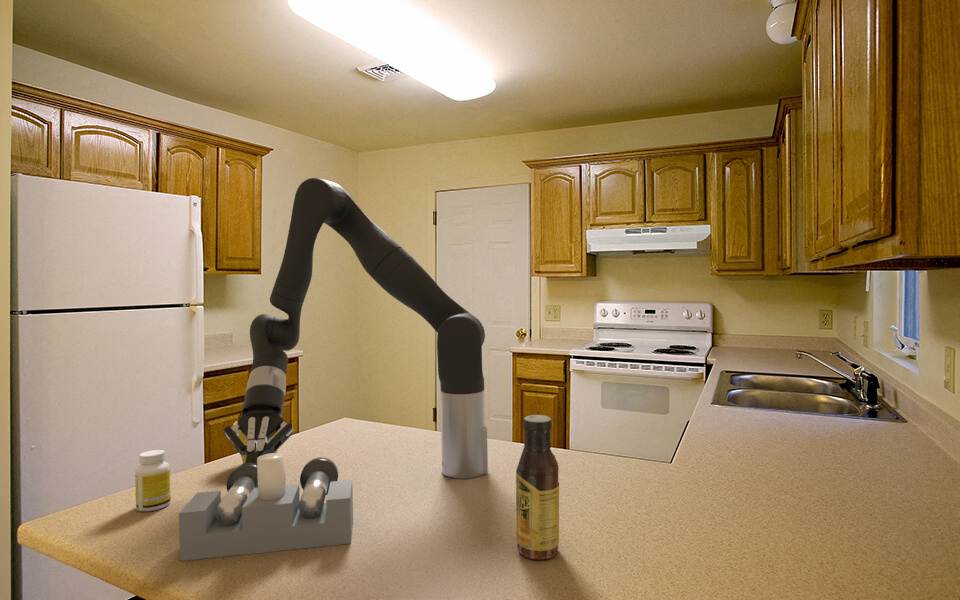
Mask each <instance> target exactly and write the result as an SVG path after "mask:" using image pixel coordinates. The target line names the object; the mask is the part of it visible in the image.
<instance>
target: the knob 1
mask: <svg viewBox="0 0 960 600" xmlns="http://www.w3.org/2000/svg"><path fill="white" fill-rule="evenodd" d="M254 488H258V472H257V464H256V463H244V464H243V463H242V464H240V465H237V467H235V468H234V469H233V470H232V472H231V473H230V474H229V476H228V478H227V480H226V491H227V493H226V494H225V495H224V497H222V498H221V502H220V503H219V505H218V506H217V508H216V510H215V518H216V520H217V521H218V522H219V523H221V524H223V525H230V524H233V523H235V522H236V521H237V520H238V518H239V517H240V515H241V513H242V506H243V505H244V503H245V502H246V500H247V498H248V497H249V495H250V493H251V492H252V490H253V489H254Z"/></svg>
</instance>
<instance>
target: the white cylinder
mask: <svg viewBox="0 0 960 600" xmlns="http://www.w3.org/2000/svg"><path fill="white" fill-rule="evenodd" d="M257 472H258V498H259V499H260V500H274V499H278V498H281V497H283V496H284V495H285V494H286V486H285V485H286V455H285V454H284V453H281V452H277V453H270V454H265V455H262V456H259V457H258V458H257Z"/></svg>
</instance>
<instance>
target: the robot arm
mask: <svg viewBox="0 0 960 600" xmlns="http://www.w3.org/2000/svg"><path fill="white" fill-rule="evenodd" d="M296 189H297V190H296V192H295V194H294V198H293V204H292V211H291V216H290V223H289V227H288V228H289V229H288V234H287V237H286V244H285V248H284V252H283V257H282V260H281V263H280V268H279V271H278V274H277V276H276V278H275V279H276V280H275V281H274V284H273V287H272V290H271V292H270V293H271V294H270V295H269V296H270V297H269V303H270V305H271V306H273V307H274V308H275V309H278V310H279V311H282V312H283V313H285V314H286V315H287V316H288V318H284V317H279V316H275V315H272V314H266V313H263V314H259V315H257V316H255V318H253V320H252V322H251V323H250V326H249V327H250V328H249V337H250V338H249V341H250V344H251V345H250V346H251V349H252V364H251V370H250V375H249V378H248V380H247V384H246V389H245V395H244V399H243V405H242V410H241V415H240V416H239V418H238V419H237V420H236V421H237V424H236V425H234V426H233V425H231V426H229V425H228V426H226V427H224V433H225V435H226V438H227V439H228V441H229V442H230V443H231V444H232V445H233V447H234V448H235V450H236V451H237V452H238V453H239V455H240V456H241V455H247V456H246V462H245V463H256V464H257V458H258V457H259V456H262V455H265V454H268V453H274V452H275V451H276V450H277V449H278V450H279V449H280V447H282V446H283V445H284V443H286V442H287V440H289V438H290V437H291V436H292V435H293V434H294V427H293V424H292V423H290V422H289V423H287V422H285V420H284V417H283V412H284V404H285V398H286V397H285V396H286V392H287V390H286V388H287V372H288V365H289V357H288V355H287V353H286V352H288V351H292V350H293V349H294V348H296V346H297V345H298V343H299V340H300V336H301V335H300V334H301V314H302V310H303V309H302V308H303V304H304V301H305V300H306V296H307V293H308V291H309V287H310V284H311V282H312V281H311V280H312V277H313V262H314V260H313V258H314V248H315V244H316V240H317V238H318V237H317V236H319V235H318V234H319V232H320V230H321V229H322V226H323V224H326V225H327V226H329V227H330V228H331V229H332V230H333V231H335V232H336V233H337V234H338V235H339V236H340V237H342V238H343V239H344V240H345V241H346V243H348V244H349V246H350V247H351V249H352V250H353V252H354V254H355V256H356V257H357V259H358V261H359V262H360V264H361V266H362V268H363V269H364V270H365V272H366V273H367V274H368V275H369V276H370V277H371V278H372V280H374V282H375V283H377V284H378V285H379V286H380V287H381V288H382V289H383V290H384V291H385V292H386V293H388V294H389V296H391V297H393V298H394V299H395V300H397V301H399V303H401V304H403V305H404V306H406V307H407V308H409V309H410V310H412V311H414V312H415V313H417V315H419V316H421V317H422V318H423V319H424V320H425V321H426V322H427V323H428V324H429V325H430V326H431V327H432V329H433V330H434V331H435V332H436V333H437V336H436V352H437V356H436V357H437V375H438V378H439V385H440V386H439V387H440V423H441V425H440V427H441V428H440V431H441V439H440V440H441V471H442V474H443V475H444V476H446V477H447V478H448V477H450V478H454V479H471V478H476V477H480V476H482V475H488V474H489V467H488V466H489V463H488V459H489V458H488V455H489V453H488V452H489V451H488V428H487V427H486V422H485V421H486V418H485V416H486V415H485V413H486V412H485V411H486V410H485V407H486V406H485V377H484V373H483V372H484V371H483V351H482V350H483V347H482V346H483V345H484V343H485V339H486V333H485V328H484V326H483V324H482V322H481V321H480V320H479V319H478V318H477V317H476V316H474V315H473V314H472V313H471V312H469V311H467V309H466V308H464V307H462V305H460V304H459V303H457V302H456V301H455V300H454V299H452V298H451V296H449V295H448V294H447V293H446V292H445V291H444V290H443V289H442V288H441V287H440V286H439V284H438V283H437V282H436V281H435V280H434V279H433V277H431V275H430V274H429V273H428V272H427V271H426V270H425V269H424V267H422V266H421V265H420V264H419V262H417V261H416V259H414V257H413V256H412V255H411V254H410V253H409V252H408V251H406V250H405V249H404V248H403V247H402V245H400V244H399V243H398V242H397V241H396V240H395V239H393V238H392V237H391V236H390V235H389V234H388V233H387V232H386V231H385V230H383V228H381V227H380V226H379V225H377V224H376V223H375V222H374V221H372V219H370V218H369V217H368V215H367V214H366V213H365V212H364V211H363V210H362V208H360V206H359V205H358V204H357V203H356V201H354V199H353V198H352V197H351V195H350V194H349V193H348V192H347V191H346V189H344V188H343V186H341V185H340V184H338V183H336V182H334V181H331V180H326V179H324V178H319V177H311V178H307V179H305V180H304V181H302V182H301V183H300V184H299V185H298V187H297V188H296ZM239 430H241V431H242V432H243V434H244V435H245V437H246V438H247V440H248V443H247V446H246V445H244V444H243V442H242V441H241V440H240V439H239V437H238V436H239ZM278 430H279V432H278V433H277V434H276V435H275V436H274V437H273V438H272V439H271V440H270V441H269V439H270V438H271V437H272V436H273V435H274V434H275V433H276V432H277V431H278ZM257 442H258V445H257ZM256 448H257V451H256ZM278 450H277V451H278Z"/></svg>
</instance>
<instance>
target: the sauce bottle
mask: <svg viewBox="0 0 960 600" xmlns="http://www.w3.org/2000/svg"><path fill="white" fill-rule="evenodd" d="M552 424H553V422H552V418H551V417H549V416H548V415H543V414H532V415H531V414H529V415H528V416H527V415H526V416H525V417H524V418H523V428H524V429H523V430H524V445H523V449H522V452H521V456H520V458H519V462H518V465H517V467H516V469H515V470H516V472H515V486H516V487H515V490H516V491H515V492H516V493H515V504H516V505H515V507H516V509H515V512H516V515H515V517H516V519H515V521H516V523H515V524H516V525H515V526H516V527H515V528H516V532H515V533H516V542H517V550H518V552H519V553H520V555H523V556H524V557H525V558H527V559H529V560H536V561H541V560H549V559H552V558H554V557H556V556H557V554H558V551H559V544H560V482H559V463H558V461H557V459H556V455H554V454H553V453H554V452H552V450H551V448H552V443H551V430H552V427H553V426H552Z"/></svg>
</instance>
